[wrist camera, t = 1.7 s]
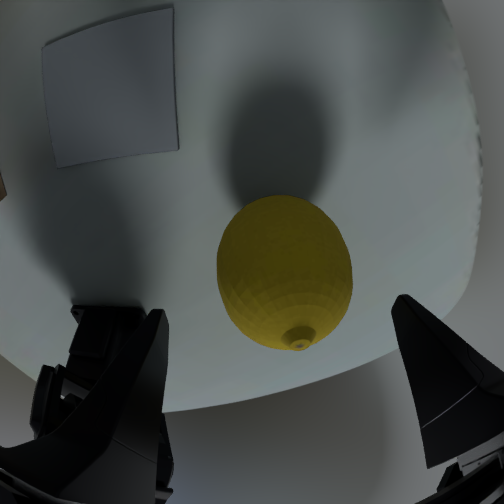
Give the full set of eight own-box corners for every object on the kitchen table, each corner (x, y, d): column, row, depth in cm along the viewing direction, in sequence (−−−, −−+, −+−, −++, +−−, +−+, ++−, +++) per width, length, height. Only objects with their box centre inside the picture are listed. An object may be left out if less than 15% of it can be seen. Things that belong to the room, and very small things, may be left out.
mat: (179, 148, 12) (178, 150, 12) (60, 166, 12) (57, 168, 11) (174, 9, 8) (172, 7, 8) (44, 47, 7) (41, 47, 7)
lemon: (292, 149, 12) (357, 251, 6) (335, 230, 15) (391, 346, 9) (198, 205, 14) (175, 335, 8) (254, 272, 17) (266, 394, 11)
